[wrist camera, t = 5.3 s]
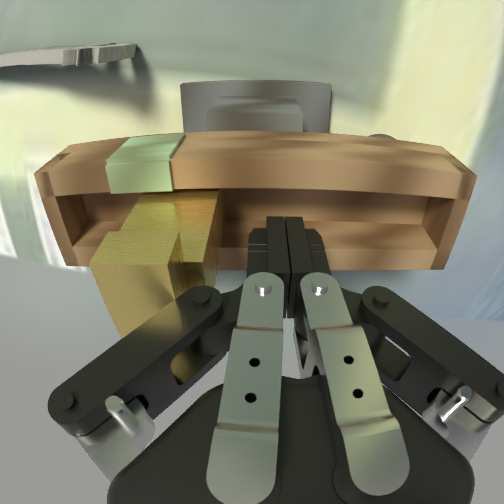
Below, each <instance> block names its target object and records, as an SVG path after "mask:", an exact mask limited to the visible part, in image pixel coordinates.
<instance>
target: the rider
mask: <svg viewBox="0 0 504 504" xmlns="http://www.w3.org/2000/svg"><path fill="white" fill-rule="evenodd" d="M225 219H226V209H225V190H224V188H198V189H173V191H163V192H143V193H142V195H141V196H140V198H139V199H138V201H137V203H136V204H135V206H134V207H133V209H132V211H131V212H130V214H129V215H128V217H127V219H126V220H125V222H124V224H123V225H122V227H121V229H120V230H119V231H108V233H107V234H106V236H105V238H104V239H103V241H102V243H101V244H100V246H99V247H98V249H97V251H96V252H95V254H94V256H93V258H92V259H91V261H90V263H89V265H90V267H91V270H92V273H93V275H94V278H95V280H96V283H97V285H98V287H99V290H100V292H101V295H102V297H103V299H104V302H105V304H106V306H107V308H108V311H109V313H110V315H111V317H112V319H113V322H114V324H115V326H116V328H117V330H118V332H119V335H120V337H121V339H122V338H124V337H125V336H126V335H128V334H129V333H130V332H132V331H133V330H134V329H136V328H137V327H138V326H140V325H141V324H142V323H144V322H145V321H147V320H148V319H149V318H151V317H152V316H153V315H155V314H156V313H157V312H159V311H160V310H161V309H163V308H164V307H165V306H167V305H168V304H169V303H171V302H172V301H174V300H175V299H176V298H178V297H179V296H180V295H182V294H183V293H184V292H186V291H187V290H189V289H190V288H193V287H196V286H202V285H204V286H211V287H213V288H214V287H215V281H216V274H217V268H218V262H219V255H220V249H221V243H222V237H223V231H224V225H225Z"/></svg>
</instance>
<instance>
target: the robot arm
mask: <svg viewBox="0 0 504 504" xmlns="http://www.w3.org/2000/svg"><path fill="white" fill-rule="evenodd" d="M286 310H287V318H294V324H295V326H294V333H293V336H294V342H295V348H296V353H297V359H298V364H299V370H300V379H295V378H290V377H285V376H281V373H282V352H283V318H286ZM386 336H387V337H388V338H390V339H391V340H392V341H393V342H395V343H396V344H397V345H399V346H400V347H401V348H402V349H404V350H405V351H406V352H407V353H408V354H409V355H410V357H411V358H410V357H409V356H407V355H406V354H405V353H404V352H402V351H401V350H400V349H399V348H397V347H396V346H395V345H393V344H392V343H391V342H390V341H388V340H387V339H386V338H385V337H386ZM228 351H229V356H228V361H227V368H226V373H225V379H224V384H221V385H218V386H216V387H214V388H212V389H210V390H209V391H207V392H206V393H204V394H203V395H202V396H201V397H200V398H198V399H197V400H196V401H195V402H194V403H193V405H191V406H190V407H189V408H188V409H187V410H186V411H185V412H184V413H183V414H182V415H181V416H180V417H179V418H178V419H177V420H176V421H175V422H174V423H172V424H171V425H170V426H169V427H168V428H167V429H166V430H165V431H164V432H163V433H162V434H161V435H160V436H159V437H158V438H157V439H155V440H154V441H153V442H152V443H151V444H150V445H149V446H148V447H147V448H146V449H145V446H146V445H147V444H148V442H149V441H150V440H151V439H152V437H153V435H154V431H155V425H154V422H153V419H155V418H156V417H157V416H158V415H159V414H161V413H162V412H163V411H164V410H165V409H166V408H168V407H169V406H170V405H171V404H172V403H173V402H174V401H176V400H177V399H178V398H179V397H180V396H181V395H182V394H183V393H185V392H186V391H187V390H188V389H189V388H190V387H191V386H193V385H194V384H195V383H196V382H197V381H198V380H199V379H200V378H201V377H203V376H204V375H205V374H206V373H207V372H208V371H209V370H210V369H211V368H213V367H214V366H215V365H216V364H217V363H218V362H219V361H220V360H221V359H222V358H223V357H224V356H225V355H226V353H227V352H228ZM381 383H383V384H384V385H385V386H386V387H387V388H386V387H385V386H383V385H382V384H381ZM388 388H389V389H390V390H391V391H390V390H389V389H388ZM394 393H395V394H396V395H397V396H398V397H400V398H401V399H402V400H403V401H404V402H405V403H407V404H408V405H409V406H410V407H411V408H413V409H414V410H415V411H416V412H418V413H419V414H420V415H421V416H422V418H421V417H420V416H418V415H417V414H416V413H415V412H414V411H413V410H412V409H410V407H408V406H407V405H406V404H405V403H404V402H403V401H402V400H401V399H400V398H398V397H397V396H396V395H395V394H394ZM48 411H49V414H50V415H51V417H52V418H53V420H55V421H56V422H57V423H58V424H59V425H60V426H61V427H63V429H64V430H65V431H66V432H67V433H68V434H69V435H71V436H72V437H73V438H74V439H76V440H77V441H78V442H79V443H80V444H81V445H82V447H83V448H84V450H85V451H86V452H87V453H88V455H89V456H90V457H91V459H92V460H93V461H94V462H95V464H96V465H97V466H98V467H99V469H100V470H101V471H102V472H103V473H104V474H105V476H106V477H107V478H108V479H109V480H110V482H111V484H110V487H109V490H108V495H107V504H470V502H471V499H472V495H473V492H474V486H475V482H474V481H475V478H474V473H473V469H472V467H471V465H470V463H469V462H470V460H471V459H472V457H473V456H474V454H475V452H476V451H477V449H478V448H479V446H480V444H481V442H482V441H483V439H484V437H485V435H486V434H487V432H488V430H489V428H490V426H491V425H492V424H493V423H494V422H495V421H496V420H498V419H499V418H500V417H501V416H502V415H504V374H503V373H501V372H500V371H499V370H498V369H496V368H495V367H494V366H493V365H491V364H490V363H489V362H487V361H486V360H485V359H484V358H482V357H481V356H480V355H478V354H477V353H476V352H475V351H473V350H472V349H470V348H469V347H468V346H467V345H465V344H464V343H462V342H461V341H460V340H459V339H457V338H456V337H455V336H453V335H452V334H451V333H449V332H448V331H447V330H445V329H444V328H443V327H441V326H440V325H439V324H437V323H436V322H434V321H433V320H432V319H430V318H429V317H428V316H426V315H425V314H424V313H422V312H421V311H419V310H418V309H417V308H415V307H414V306H412V305H411V304H410V303H408V302H407V301H405V300H404V299H403V298H401V297H400V296H398V295H397V294H396V293H394V292H393V291H391V290H390V289H388V288H385V287H381V286H372V287H369V288H367V289H366V290H365V291H364V292H363V294H359V293H355V292H351V291H347V290H345V289H343V288H341V287H340V286H339V283H338V281H337V280H336V279H335V278H334V277H332V276H331V272H330V267H329V263H328V259H327V256H326V252H325V248H324V245H323V240H322V236H321V235H320V234H319V233H318V232H317V231H316V230H315V229H307V228H305V227H304V222H303V217H290V216H285V219H284V216H267V217H266V228H254V229H253V230H252V231H251V233H250V234H249V236H248V257H247V277H246V280H245V281H244V284H243V285H242V286H240V287H239V288H237V289H236V290H233V291H230V292H226V293H222V294H221V293H220V292H219V291H218V290H217V289H215V288H213V287H211V286H204V285H202V286H196V287H193V288H190V289H189V290H187V291H186V292H184V293H183V294H182V295H180V296H179V297H178V298H176V299H175V300H174V301H172V302H171V303H169V304H168V305H167V306H165V307H164V308H163V309H161V310H160V311H159V312H157V313H156V314H155V315H153V316H152V317H151V318H149V319H148V320H147V321H145V322H144V323H142V324H141V325H140V326H138V327H137V328H136V329H134V330H133V331H132V332H130V333H129V334H128V335H126V336H125V337H124V338H122V339H121V340H120V341H118V342H117V343H116V344H114V345H113V346H112V347H110V348H109V349H108V350H106V351H105V352H104V353H102V354H101V355H100V356H98V357H97V358H96V359H94V360H93V361H92V362H90V363H89V364H88V365H86V366H85V367H84V368H82V369H81V370H79V371H78V372H77V373H76V374H74V375H73V376H72V377H70V378H69V379H68V380H66V381H65V382H64V383H62V384H61V385H60V386H58V387H57V388H56V389H55V390H54V391H53V392H52V393H51V395H50V397H49V400H48ZM144 449H145V450H144Z"/></svg>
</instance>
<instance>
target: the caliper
mask: <svg viewBox="0 0 504 504" xmlns="http://www.w3.org/2000/svg"><path fill="white" fill-rule="evenodd" d="M135 49H136V44H134V43H130V44H116V43H104V44H92V45H82V46H60V47H49V48H42V49H32V50H24V51H16V52H9V53H3V54H0V67H3V66H13V65H24V64H25V65H36V64H62V66H66V65H73V64H76V66H79V65H84V64H90V63H96V64H98V63H104V62H111V61H117V60H122V59H127V58H131V57H135Z"/></svg>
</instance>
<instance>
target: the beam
mask: <svg viewBox="0 0 504 504" xmlns="http://www.w3.org/2000/svg"><path fill="white" fill-rule="evenodd" d="M180 89H181V103H182V116H183V128H184V133H171V134H157V135H145V136H135V137H125V138H117V139H108V140H101V141H93V142H86V143H80V144H73V145H69V146H68V147H67V148H65V149H64V150H63V151H61V152H60V153H59V154H57V155H56V156H55V157H54V158H52V159H51V160H50V161H49V162H47V163H46V164H45V165H44V166H42V167H41V168H40V169H39V170H38V171H36V172H35V173H34V176H35V179H36V183H37V186H38V189H39V193H40V196H41V199H42V202H43V205H44V208H45V211H46V214H47V217H48V219H49V222H50V225H51V228H52V230H53V233H54V236H55V238H56V241H57V244H58V246H59V249H60V251H61V254H62V256H63V259H64V261H65V263H66V266H88V267H90V265H89V263H90V261H91V259H92V258H93V256H94V254H95V252H96V251H97V249H98V247H99V246H100V244H101V243H102V241H103V239H104V238H105V236H106V234H107V233H108V231H119V230H120V229H121V227H122V225H123V224H124V222H125V220H126V219H127V217H128V215H129V214H130V212H131V211H132V209H133V207H134V206H135V204H136V203H137V201H138V199H139V198H140V196H141V195H142V193H143V192H163V191H173V189H198V188H224V190H225V209H226V219H225V225H224V231H223V237H222V243H221V249H220V255H219V262H218V268H217V270H247V257H248V236H249V234H250V233H251V231H252V230H253V229H254V228H266V217H267V216H284V219H285V216H290V217H303V222H304V227H305V228H307V229H315V230H316V231H317V232H318V233H319V234H320V235H321V236H322V240H323V245H324V248H325V252H326V256H327V259H328V263H329V267H330V270H442V269H444V267H445V265H446V262H447V260H448V258H449V255H450V253H451V250H452V248H453V245H454V243H455V240H456V237H457V235H458V232H459V229H460V227H461V224H462V221H463V218H464V216H465V213H466V210H467V207H468V204H469V201H470V198H471V194H472V191H473V188H474V185H475V181H476V178H477V176H476V175H475V174H474V173H473V172H472V171H471V170H470V169H468V168H467V167H466V166H465V165H464V164H463V163H461V162H460V161H459V160H458V159H456V158H455V157H454V156H453V155H452V154H450V153H449V152H448V151H447V150H445V149H444V148H443V147H441V146H435V145H429V144H422V143H416V142H409V141H401V140H396V139H395V138H393V137H391V136H388V135H384V134H375V135H371V136H368V137H367V136H356V135H345V134H331V133H328V126H329V114H330V100H331V84H329V83H318V82H303V81H280V80H228V81H205V82H190V83H182V84H181V85H180Z"/></svg>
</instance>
